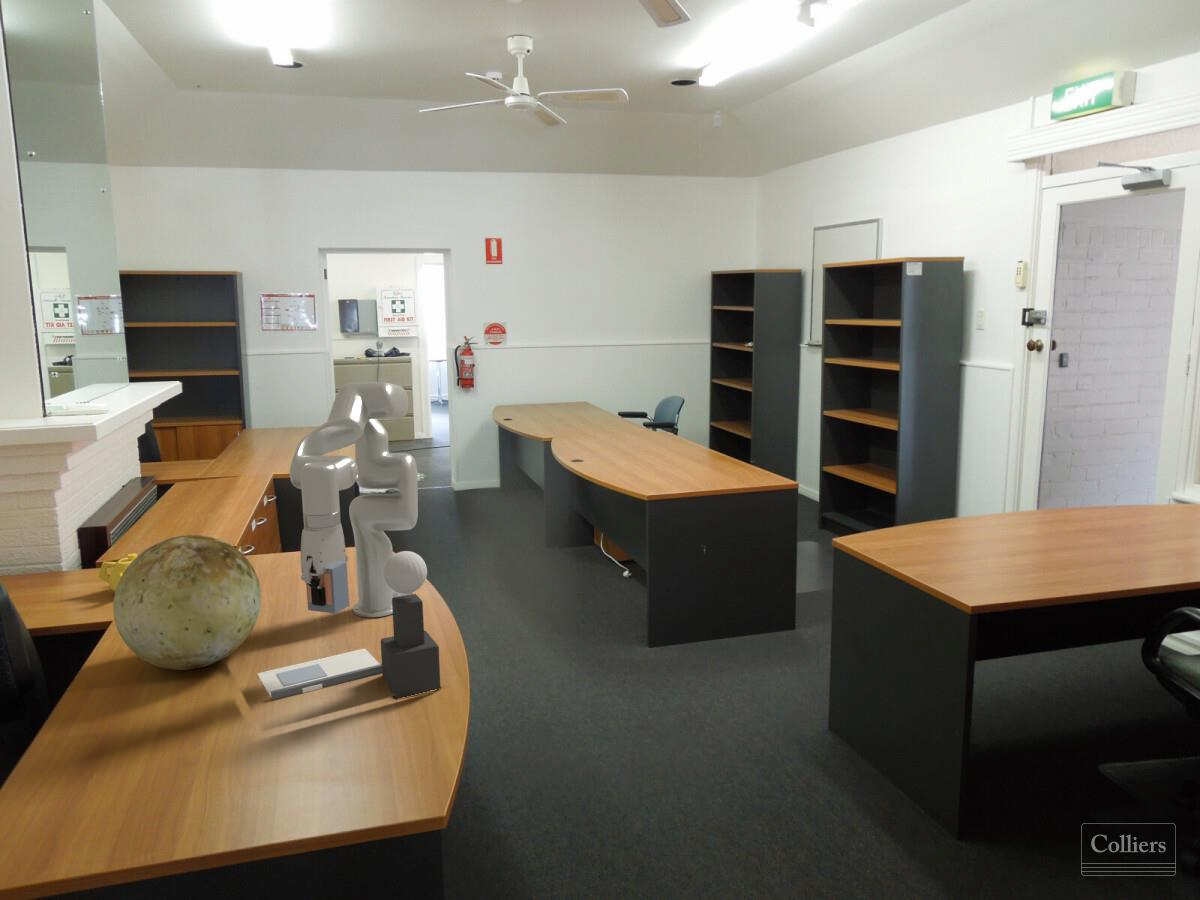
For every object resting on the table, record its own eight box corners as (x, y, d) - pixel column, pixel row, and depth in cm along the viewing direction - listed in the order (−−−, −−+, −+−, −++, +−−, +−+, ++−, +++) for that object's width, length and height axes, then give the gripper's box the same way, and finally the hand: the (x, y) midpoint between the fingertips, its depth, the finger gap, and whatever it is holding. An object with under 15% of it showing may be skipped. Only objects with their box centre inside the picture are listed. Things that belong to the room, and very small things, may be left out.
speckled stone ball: (275, 633, 210) (266, 516, 205) (253, 685, 182) (241, 552, 176) (145, 644, 204) (131, 524, 199) (100, 700, 175) (84, 562, 170)
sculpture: (393, 701, 174) (386, 562, 169) (382, 681, 183) (374, 549, 178) (441, 690, 179) (435, 554, 173) (427, 672, 187) (421, 542, 182)
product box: (322, 602, 187) (319, 559, 186) (349, 605, 185) (346, 562, 183) (307, 610, 182) (304, 566, 181) (334, 614, 180) (331, 569, 178)
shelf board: (365, 654, 197) (364, 642, 197) (387, 678, 185) (386, 665, 184) (257, 679, 184) (256, 667, 184) (273, 707, 172) (272, 693, 171)
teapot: (161, 600, 235) (156, 562, 233) (89, 606, 230) (84, 567, 228) (177, 578, 254) (174, 542, 252) (112, 583, 249) (108, 547, 247)
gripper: (331, 509, 189) (336, 586, 192) (281, 528, 173) (287, 612, 176) (360, 511, 187) (365, 589, 190) (311, 531, 171) (317, 616, 174)
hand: (327, 599), depth 183 cm, fingers closed on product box, 5 cm apart
